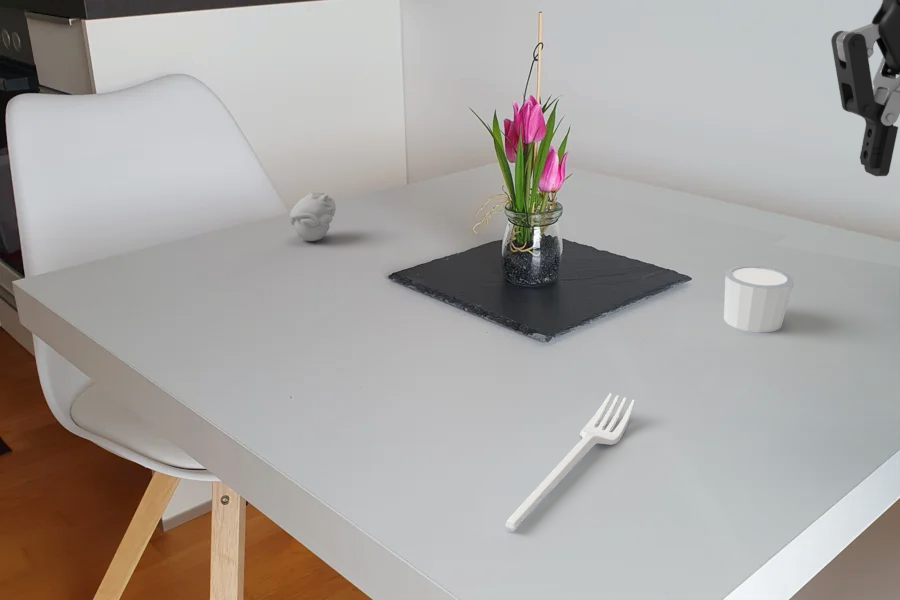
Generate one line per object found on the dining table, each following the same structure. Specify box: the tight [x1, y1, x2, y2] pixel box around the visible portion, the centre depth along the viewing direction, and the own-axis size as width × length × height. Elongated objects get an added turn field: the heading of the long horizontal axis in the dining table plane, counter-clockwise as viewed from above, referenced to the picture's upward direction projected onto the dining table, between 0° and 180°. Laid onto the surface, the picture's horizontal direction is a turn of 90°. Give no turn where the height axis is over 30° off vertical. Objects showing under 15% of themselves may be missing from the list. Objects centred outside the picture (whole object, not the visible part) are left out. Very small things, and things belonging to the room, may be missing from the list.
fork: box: [505, 392, 635, 530], centre depth 67 cm, size 3×20×2 cm, turn 146°
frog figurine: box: [289, 190, 337, 242], centre depth 120 cm, size 6×7×7 cm
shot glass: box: [723, 265, 795, 334], centre depth 89 cm, size 7×7×7 cm
